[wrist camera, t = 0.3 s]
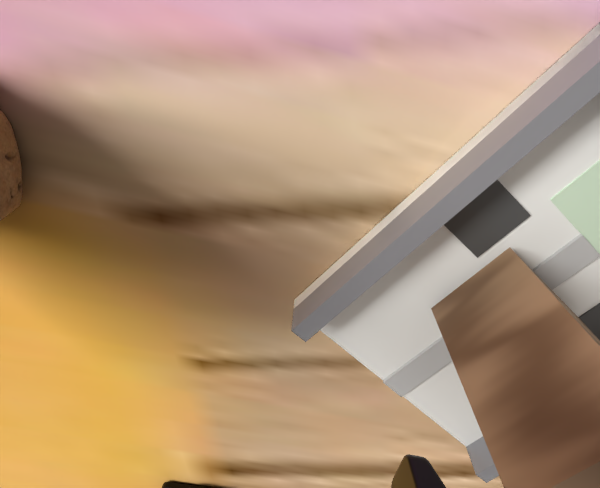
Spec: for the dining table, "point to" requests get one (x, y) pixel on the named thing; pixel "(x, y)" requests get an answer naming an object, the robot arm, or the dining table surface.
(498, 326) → the slider
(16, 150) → the block
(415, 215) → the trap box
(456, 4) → the dining table surface
